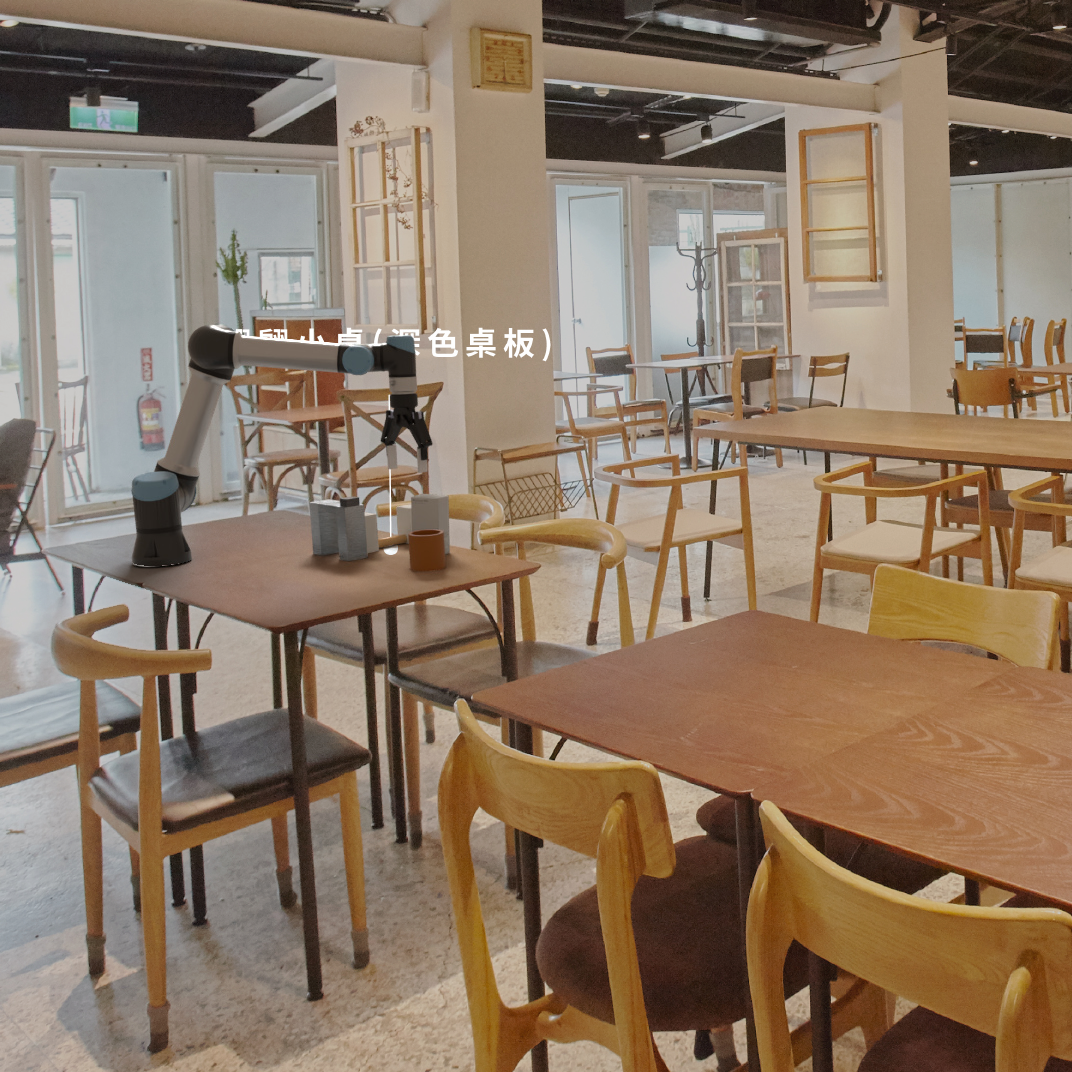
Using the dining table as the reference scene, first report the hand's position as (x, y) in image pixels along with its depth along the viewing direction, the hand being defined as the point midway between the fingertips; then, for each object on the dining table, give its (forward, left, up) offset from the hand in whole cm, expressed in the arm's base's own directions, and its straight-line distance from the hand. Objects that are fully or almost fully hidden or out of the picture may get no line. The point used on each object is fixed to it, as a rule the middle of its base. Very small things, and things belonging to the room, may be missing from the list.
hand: (407, 470), depth 333 cm
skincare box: (+19, -8, -20) cm, 29 cm away
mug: (+31, -18, -20) cm, 41 cm away
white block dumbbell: (0, -8, -20) cm, 21 cm away
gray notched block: (0, -24, -20) cm, 31 cm away
